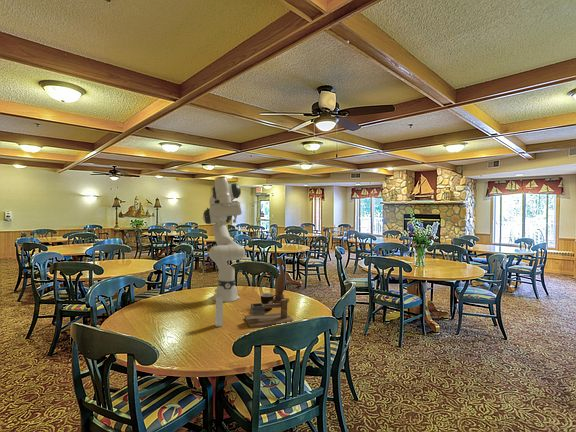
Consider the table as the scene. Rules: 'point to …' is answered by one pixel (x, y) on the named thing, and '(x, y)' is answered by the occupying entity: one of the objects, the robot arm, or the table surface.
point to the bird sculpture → (280, 283)
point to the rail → (219, 311)
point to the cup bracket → (267, 315)
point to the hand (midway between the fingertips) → (227, 223)
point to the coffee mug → (267, 299)
